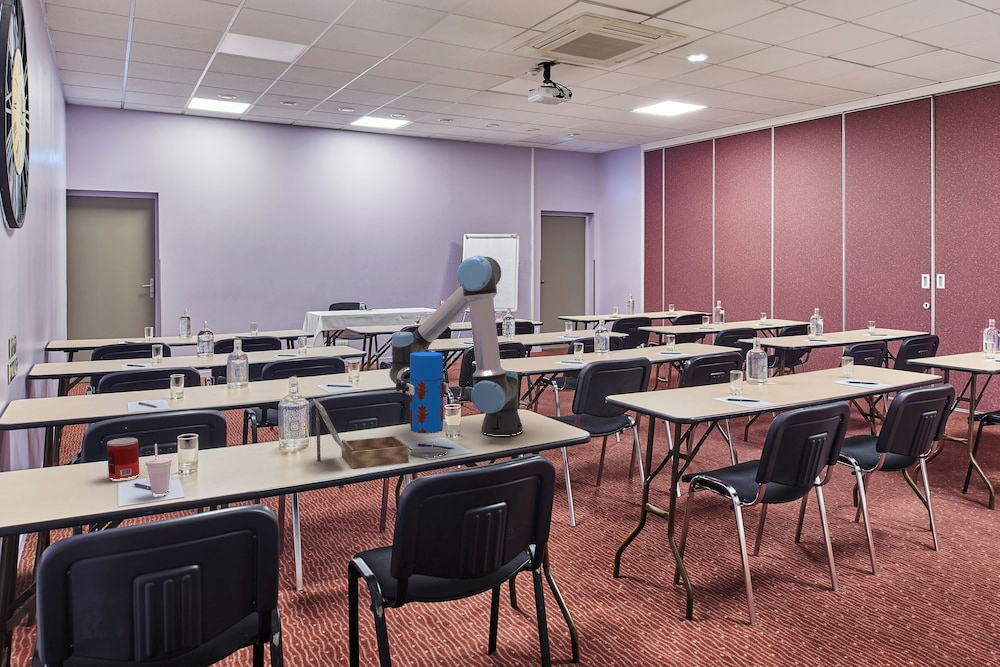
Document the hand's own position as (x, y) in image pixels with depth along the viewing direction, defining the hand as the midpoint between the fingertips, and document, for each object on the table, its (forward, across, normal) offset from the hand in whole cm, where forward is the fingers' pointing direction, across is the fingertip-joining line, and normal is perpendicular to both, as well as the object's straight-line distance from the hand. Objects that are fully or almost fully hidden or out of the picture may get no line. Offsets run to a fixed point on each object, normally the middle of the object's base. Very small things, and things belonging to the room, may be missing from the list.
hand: (430, 389), depth 226 cm
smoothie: (+8, +78, -23) cm, 82 cm away
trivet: (-4, 0, -22) cm, 22 cm away
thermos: (-4, 0, -14) cm, 15 cm away
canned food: (-14, +88, -23) cm, 92 cm away
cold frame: (-4, +22, -22) cm, 31 cm away
